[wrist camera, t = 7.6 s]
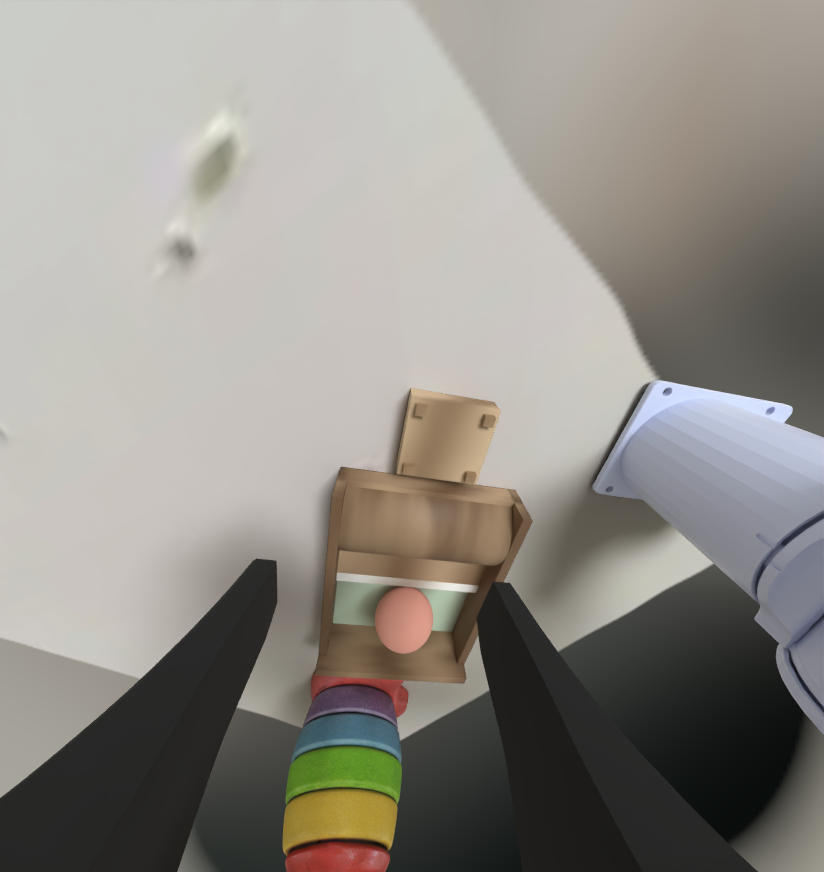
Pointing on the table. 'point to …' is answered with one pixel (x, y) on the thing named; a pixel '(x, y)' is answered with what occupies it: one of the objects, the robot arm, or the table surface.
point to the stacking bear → (345, 777)
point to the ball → (403, 619)
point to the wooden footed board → (446, 436)
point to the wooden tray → (412, 568)
